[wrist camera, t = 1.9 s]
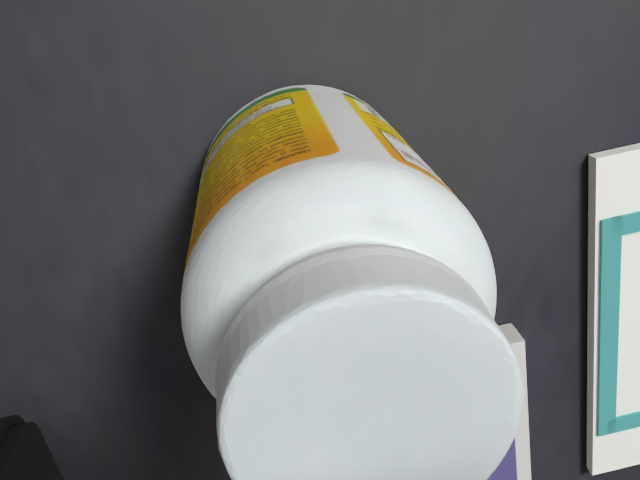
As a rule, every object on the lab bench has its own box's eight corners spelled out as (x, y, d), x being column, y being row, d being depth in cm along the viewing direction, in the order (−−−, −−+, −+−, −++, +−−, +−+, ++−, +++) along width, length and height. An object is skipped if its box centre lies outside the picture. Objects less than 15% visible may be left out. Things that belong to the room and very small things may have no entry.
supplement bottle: (420, 98, 16) (647, 261, 7) (377, 280, 18) (513, 577, 9) (210, 64, 15) (182, 208, 6) (190, 262, 17) (147, 575, 8)
